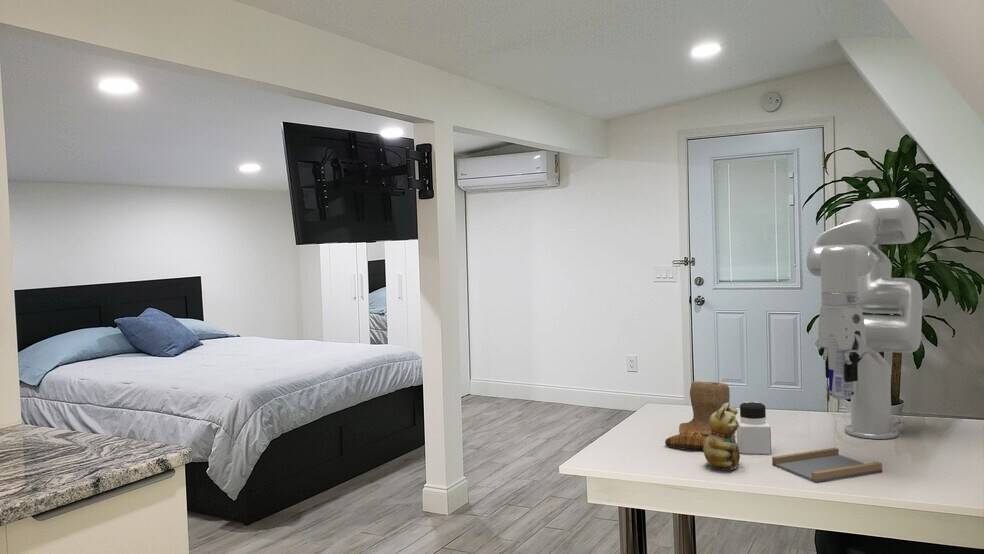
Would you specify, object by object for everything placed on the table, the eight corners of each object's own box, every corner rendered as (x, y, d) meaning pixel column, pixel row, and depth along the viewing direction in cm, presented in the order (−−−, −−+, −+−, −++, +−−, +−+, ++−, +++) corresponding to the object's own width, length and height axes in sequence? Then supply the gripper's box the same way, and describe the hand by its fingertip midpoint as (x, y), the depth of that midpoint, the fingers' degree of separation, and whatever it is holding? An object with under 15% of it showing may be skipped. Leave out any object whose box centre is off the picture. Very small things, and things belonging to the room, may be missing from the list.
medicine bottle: (771, 454, 177) (770, 406, 176) (741, 454, 178) (739, 406, 178) (766, 446, 183) (765, 400, 183) (737, 446, 185) (735, 400, 185)
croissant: (662, 450, 185) (661, 431, 185) (667, 443, 191) (667, 424, 191) (716, 455, 179) (715, 435, 179) (720, 447, 185) (720, 428, 185)
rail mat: (835, 455, 173) (834, 447, 173) (882, 472, 160) (882, 463, 160) (772, 465, 168) (772, 456, 168) (815, 482, 155) (815, 473, 155)
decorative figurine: (736, 474, 162) (734, 408, 162) (699, 470, 166) (697, 406, 166) (743, 462, 171) (741, 400, 170) (708, 459, 175) (706, 398, 174)
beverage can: (852, 395, 166) (850, 331, 166) (855, 400, 162) (854, 333, 161) (828, 395, 168) (826, 331, 168) (830, 399, 163) (829, 333, 163)
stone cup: (730, 429, 202) (728, 376, 202) (738, 440, 190) (736, 384, 190) (674, 429, 204) (673, 377, 204) (679, 440, 192) (678, 385, 192)
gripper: (883, 301, 157) (884, 383, 158) (825, 297, 173) (827, 372, 174) (855, 303, 155) (857, 387, 156) (799, 299, 171) (801, 375, 172)
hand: (841, 378), depth 165 cm, fingers closed on beverage can, 5 cm apart
